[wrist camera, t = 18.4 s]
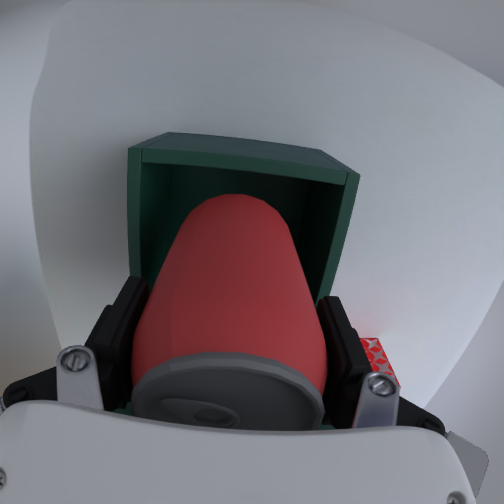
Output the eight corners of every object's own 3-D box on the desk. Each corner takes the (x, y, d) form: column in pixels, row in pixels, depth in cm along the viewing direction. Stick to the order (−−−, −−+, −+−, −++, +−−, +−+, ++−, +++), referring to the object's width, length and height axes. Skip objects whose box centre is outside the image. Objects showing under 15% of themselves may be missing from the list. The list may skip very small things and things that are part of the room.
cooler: (167, 132, 23) (127, 147, 15) (321, 150, 24) (361, 174, 16) (162, 268, 29) (135, 333, 21) (294, 282, 30) (312, 350, 22)
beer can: (208, 170, 17) (146, 298, 6) (311, 223, 18) (390, 386, 7) (163, 265, 19) (98, 433, 8) (256, 306, 21) (268, 479, 10)
